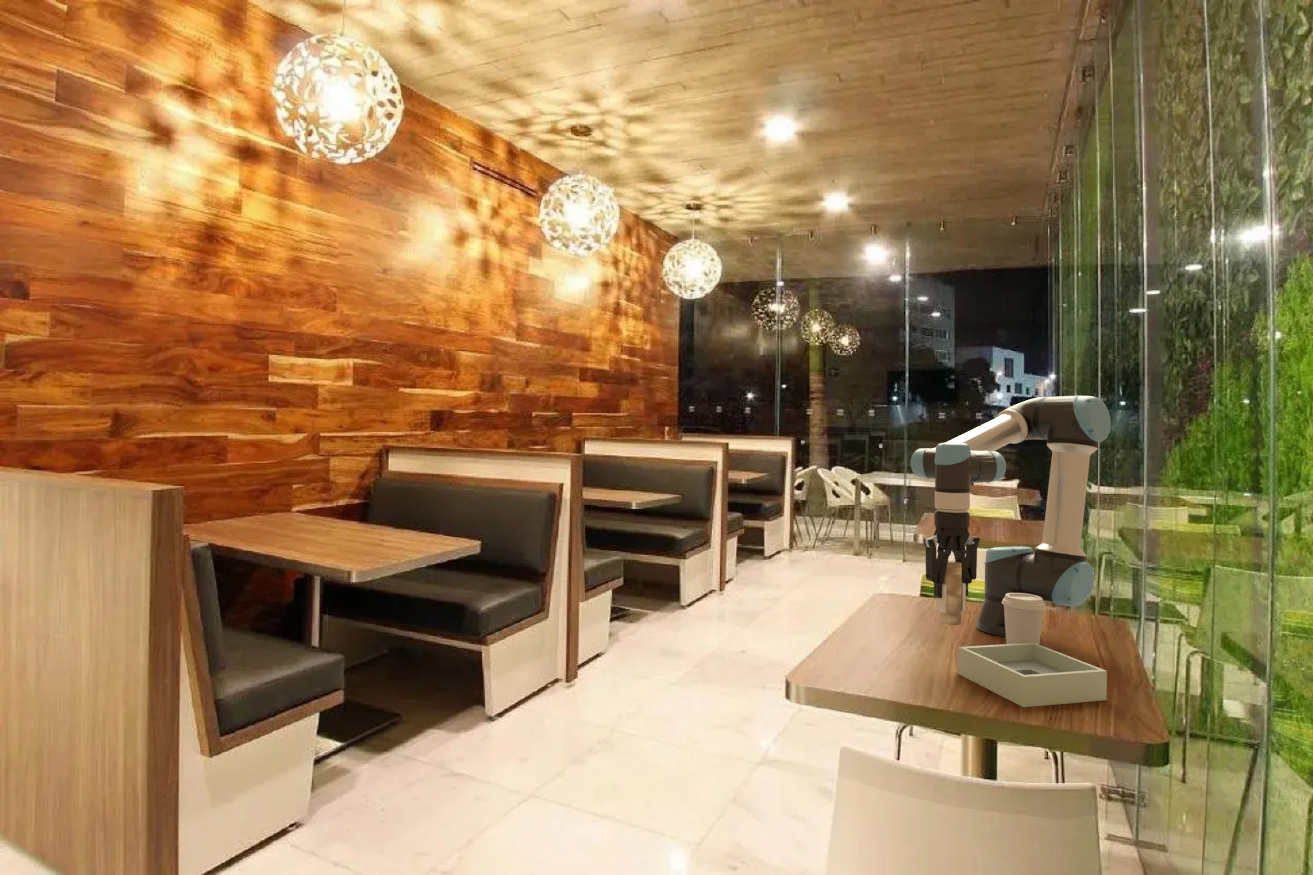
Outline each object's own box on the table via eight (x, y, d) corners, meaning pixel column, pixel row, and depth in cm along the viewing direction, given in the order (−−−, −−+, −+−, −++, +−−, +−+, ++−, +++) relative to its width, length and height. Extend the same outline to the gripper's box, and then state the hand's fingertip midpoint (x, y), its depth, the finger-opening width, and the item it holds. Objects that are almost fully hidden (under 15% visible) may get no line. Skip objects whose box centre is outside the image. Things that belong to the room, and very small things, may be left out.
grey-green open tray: (1033, 668, 169) (1033, 642, 169) (1106, 700, 149) (1107, 670, 149) (957, 673, 164) (958, 647, 164) (1023, 707, 144) (1024, 676, 144)
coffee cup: (1040, 655, 179) (1042, 594, 179) (1047, 667, 170) (1049, 602, 170) (997, 650, 182) (999, 590, 182) (1002, 661, 173) (1004, 598, 173)
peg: (952, 619, 172) (953, 560, 171) (965, 624, 167) (965, 563, 167) (936, 620, 171) (937, 560, 170) (948, 625, 166) (949, 564, 166)
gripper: (973, 507, 174) (972, 604, 175) (909, 509, 170) (908, 609, 170) (995, 511, 167) (994, 612, 168) (928, 513, 163) (927, 617, 163)
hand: (950, 610), depth 169 cm, fingers closed on peg, 4 cm apart
